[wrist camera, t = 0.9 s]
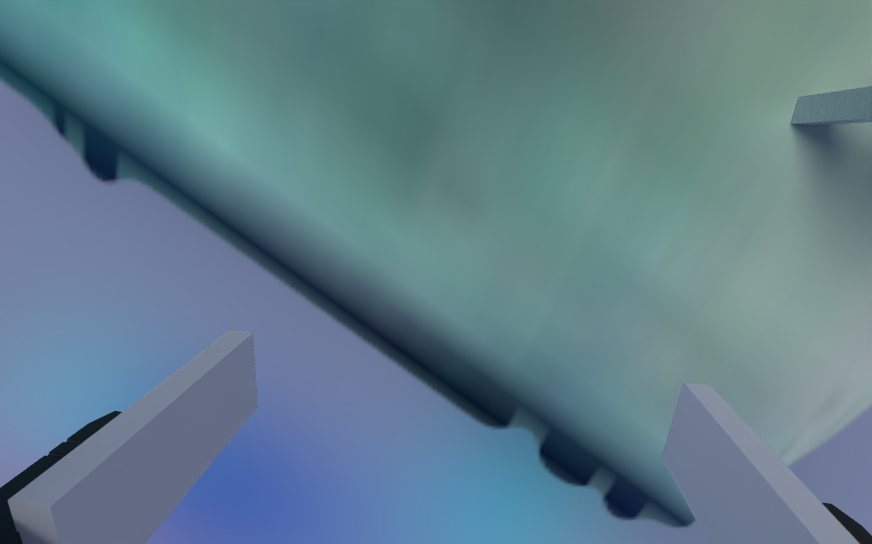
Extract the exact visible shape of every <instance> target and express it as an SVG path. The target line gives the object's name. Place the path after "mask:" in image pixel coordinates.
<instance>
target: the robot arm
mask: <svg viewBox="0 0 872 544" xmlns="http://www.w3.org/2000/svg"><path fill="white" fill-rule="evenodd" d="M257 407H258V405H257V389H256V372H255V356H254V340H253V332H243V331H234V330H229V331H228V332H226V333H225V334H224V335H222V336H221V337H220V338H218V339H217V340H216V341H215V342H213V343H212V344H211V345H209V346H208V347H207V348H205V349H204V350H203V351H202V352H200V353H199V354H198V355H196V356H195V357H194V358H192V359H191V360H190V361H188V362H187V363H186V364H185V365H183V366H182V367H181V368H179V369H178V370H177V371H175V372H174V373H173V374H172V375H170V376H169V377H168V378H166V379H165V380H164V381H162V382H161V383H160V384H158V385H157V386H156V387H155V388H153V389H152V390H151V391H149V392H148V393H147V394H146V395H144V396H143V397H142V398H140V399H139V400H138V401H136V402H135V403H134V404H132V405H131V406H130V407H129V408H127V409H126V410H125V411H124V412H118V411H114V412H112V413H110V414H108V415H106V416H103V417H101V418H99V419H97V420H95V421H93V422H91V423H89V424H87V425H86V426H85V427H83V428H82V429H80V430H79V431H78V432H76V433H75V434H74V435H72V436H71V437H70V438H68V439H67V442H63V443H61V444H60V445H58V446H57V447H56V448H54V449H53V450H52V451H50V452H49V455H48V456H44V457H42V458H41V459H39V460H38V461H37V462H35V463H34V464H32V465H31V466H30V467H28V468H27V469H26V470H24V471H23V472H21V473H20V474H19V475H17V476H16V477H15V478H13V479H12V480H10V482H8V483H6V484H5V485H4V486H2V487H1V488H0V544H145V543H146V542H147V541H148V540H149V538H150V537H151V536H152V535H153V534H154V532H155V531H156V530H157V529H158V527H159V526H160V525H161V524H162V523H163V521H164V520H165V519H166V518H167V517H168V515H169V514H170V513H171V512H172V511H173V509H174V508H175V507H176V506H177V505H178V503H179V502H180V501H181V500H182V498H183V497H184V496H185V495H186V494H187V492H188V491H189V490H190V489H191V488H192V486H193V485H194V484H195V483H196V481H197V480H198V479H199V478H200V477H201V475H202V474H203V473H204V472H205V471H206V469H207V468H208V467H209V465H210V464H211V463H212V462H213V461H214V460H215V458H216V457H217V456H218V455H219V453H220V452H221V451H222V450H223V449H224V447H225V446H226V445H227V444H228V443H229V441H230V440H231V439H232V438H233V437H234V435H235V434H236V433H237V432H238V430H239V429H240V428H241V427H242V426H243V424H244V423H245V422H246V421H247V419H248V418H249V417H250V416H251V415H252V413H253V412H254V411H255V410H256V408H257ZM661 459H662V461H663V463H664V464H665V466H666V468H667V470H668V471H669V473H670V475H671V477H672V478H673V480H674V482H675V484H676V485H677V487H678V489H679V491H680V492H681V494H682V496H683V498H684V499H685V501H686V503H687V505H688V506H689V508H690V510H691V512H692V513H693V515H694V517H695V519H696V520H697V522H698V524H699V526H700V527H701V529H702V531H703V533H704V534H705V536H706V538H707V540H708V541H709V543H710V544H872V536H871V535H870V534H869V533H868V532H867V531H866V530H865V529H864V528H863V526H861V525H860V524H859V523H857V522H856V521H855V520H853V519H852V518H850V517H849V516H848V515H846V514H845V513H843V512H842V511H841V510H839V509H838V508H836V507H835V506H834V505H832V504H828V503H821V502H820V501H819V500H818V499H817V498H816V497H815V496H814V495H813V493H812V492H810V490H809V489H808V488H807V487H806V486H805V485H804V484H803V483H802V482H801V481H800V480H799V479H798V478H797V477H796V475H795V474H794V473H793V472H792V471H791V470H790V469H789V468H788V467H787V466H786V465H785V464H784V463H783V462H782V461H781V459H780V458H779V457H778V456H777V455H776V454H775V453H774V452H773V451H772V450H771V449H770V448H769V447H768V446H767V445H766V444H765V443H764V441H763V440H762V439H761V438H760V437H759V436H758V435H757V434H756V433H755V432H754V431H753V430H752V429H751V428H750V427H749V426H748V424H747V423H746V422H745V421H744V420H743V419H742V418H741V417H740V416H739V415H738V414H737V413H736V412H735V411H734V410H733V409H732V407H731V406H730V405H729V404H728V403H727V402H726V401H725V400H724V399H723V398H722V397H721V396H720V395H719V394H718V393H717V392H716V390H715V389H714V388H713V387H712V386H711V385H702V384H693V383H685V382H684V383H683V387H682V390H681V393H680V397H679V400H678V404H677V407H676V410H675V414H674V417H673V421H672V424H671V427H670V431H669V434H668V438H667V441H666V444H665V448H664V451H663V455H662V458H661Z"/></svg>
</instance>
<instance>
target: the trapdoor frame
mask: <svg viewBox="0 0 872 544" xmlns="http://www.w3.org/2000/svg"><path fill="white" fill-rule="evenodd" d="M863 122H872V86H870V87H863V88H857V89H850V90H843V91H836V92H830V93H823V94H816V95H809V96H803V97H799V98H798V101H797V105H796V108H795V112H794V115H793V119H792V122H791V124H806V125H828V124H845V123H863Z"/></svg>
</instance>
